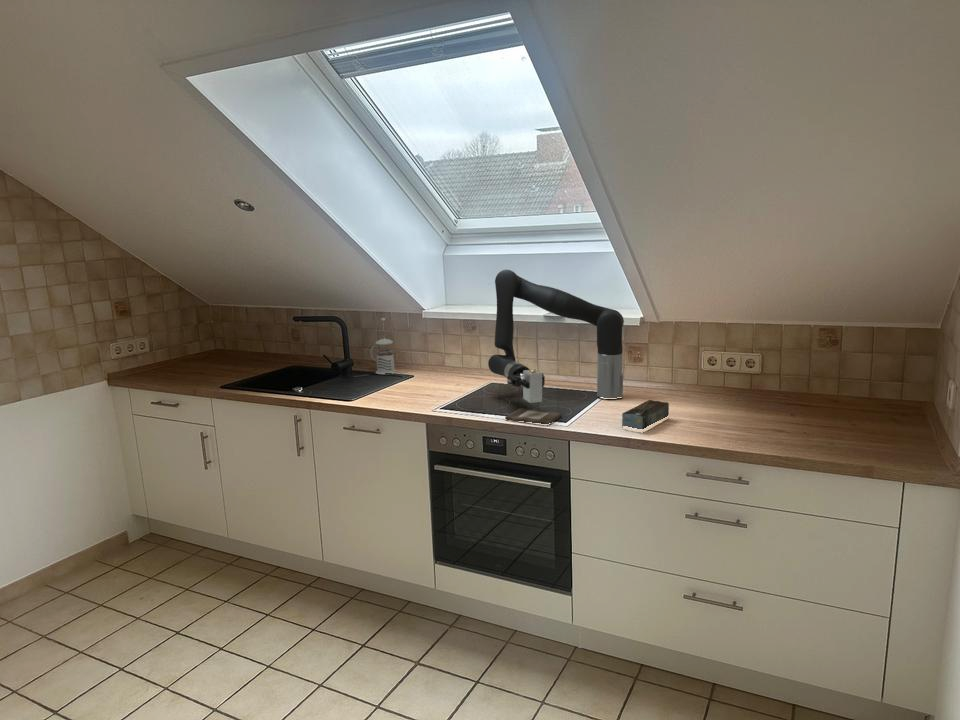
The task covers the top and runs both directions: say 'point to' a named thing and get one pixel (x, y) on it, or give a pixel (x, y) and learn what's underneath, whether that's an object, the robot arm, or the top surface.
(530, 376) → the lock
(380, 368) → the french press
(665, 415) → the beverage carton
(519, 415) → the mount plate
